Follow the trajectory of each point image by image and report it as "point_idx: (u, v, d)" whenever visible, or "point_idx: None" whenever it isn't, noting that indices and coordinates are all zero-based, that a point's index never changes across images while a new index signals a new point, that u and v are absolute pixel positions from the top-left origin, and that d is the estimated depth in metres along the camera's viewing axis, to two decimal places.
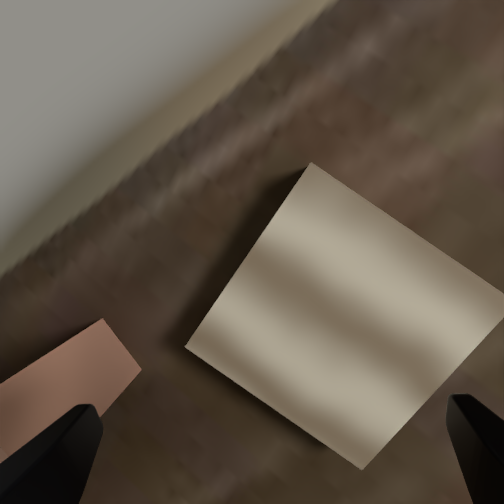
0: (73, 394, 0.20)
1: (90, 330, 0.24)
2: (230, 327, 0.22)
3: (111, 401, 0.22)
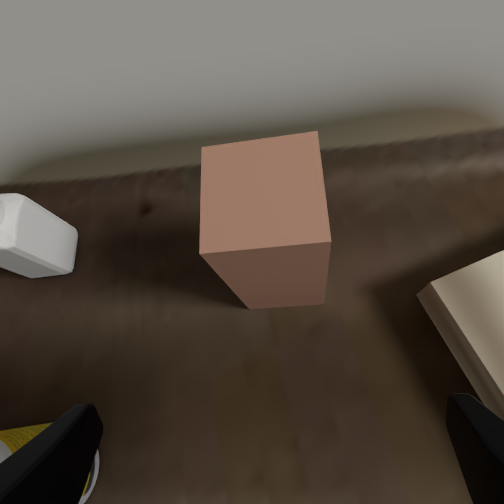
0: None
1: None
2: (499, 287, 0.18)
3: (325, 285, 0.19)
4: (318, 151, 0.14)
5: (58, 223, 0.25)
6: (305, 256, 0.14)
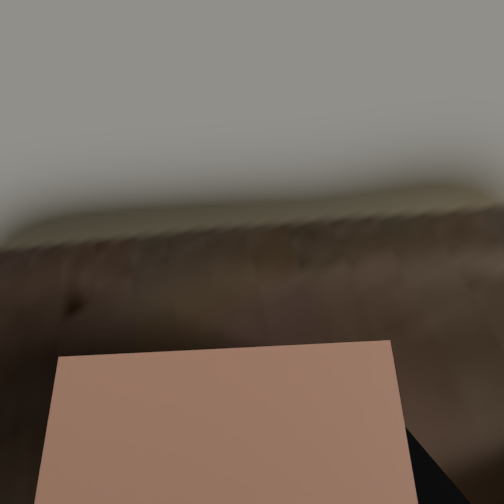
0: None
1: None
2: None
3: None
4: (399, 423, 0.04)
5: None
6: None
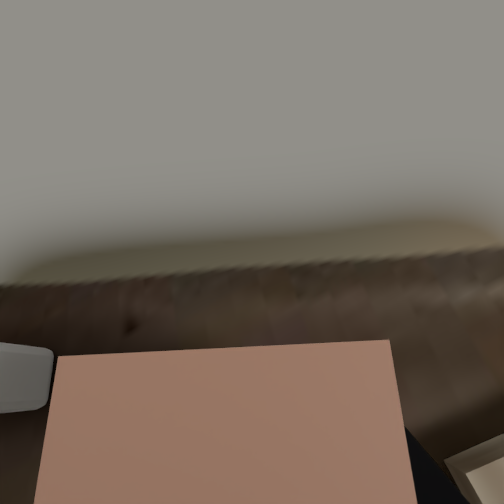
0: None
1: None
2: None
3: None
4: (398, 423, 0.04)
5: (28, 356, 0.22)
6: None
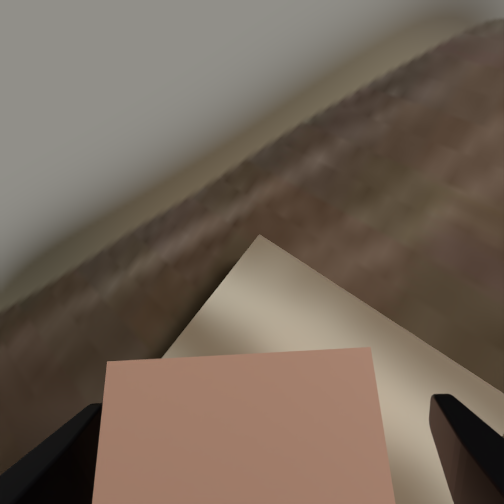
0: None
1: None
2: None
3: None
4: (377, 410, 0.06)
5: None
6: None
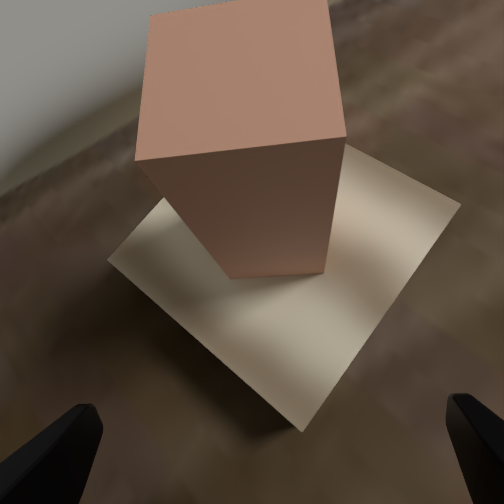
0: None
1: None
2: (160, 237, 0.20)
3: (328, 240, 0.14)
4: (326, 11, 0.09)
5: None
6: (303, 173, 0.09)
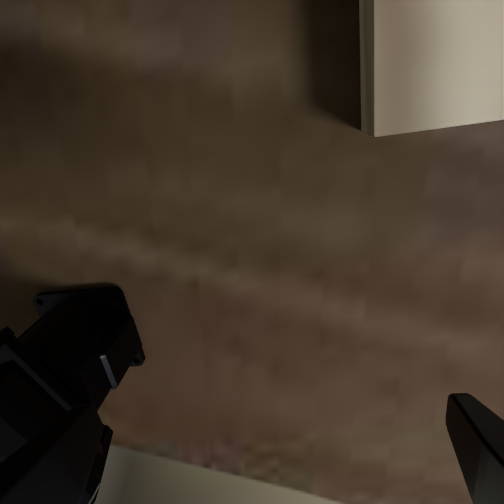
0: None
1: None
2: None
3: None
4: None
5: None
6: None
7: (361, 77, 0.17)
